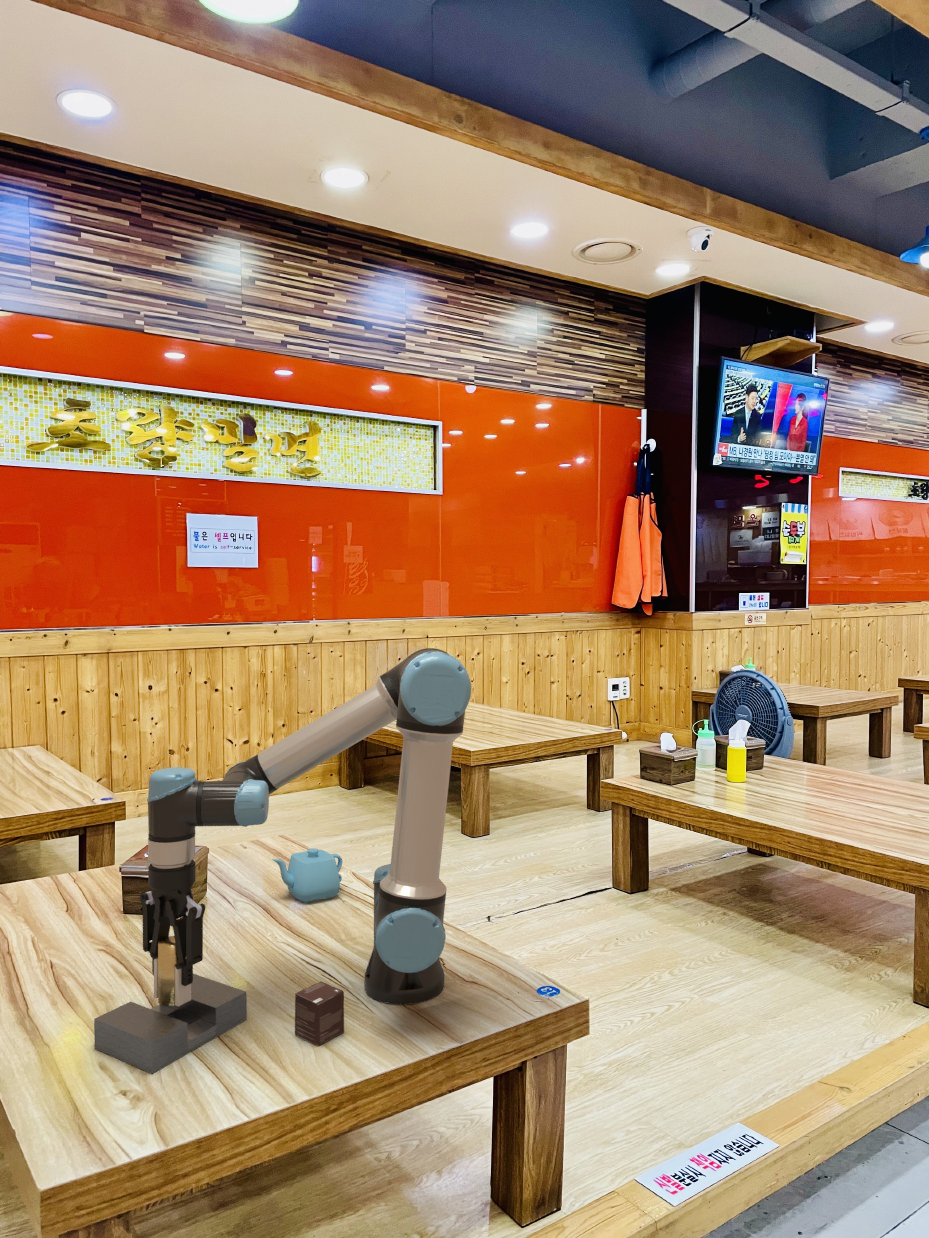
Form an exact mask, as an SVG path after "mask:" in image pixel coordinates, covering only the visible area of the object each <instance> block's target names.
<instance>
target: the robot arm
mask: <svg viewBox="0 0 929 1238" xmlns="http://www.w3.org/2000/svg"><path fill="white" fill-rule="evenodd" d="M471 695H472V683H471V679H470V676H469V673H468V671H467V669H466V667H465V666H464V665H463V663H462V662H461V661H460V660H459V659H457V658H456V657H455V656H453V655H451V654H450V653H448V652H446V651H445V650H443V649H439V648H432V647H431V648H430V647H429V648H428V647H427V648H426V647H425V648H421V649H419V650H416V651H414V652H412V653H411V654H410V655H408V656H407V657H405V659H403V660H402V661H400V662H399V663H398V664H396V665H395V666H393V667H392V668H391V669H389V670H387V671H386V672H384V673H383V674H381V675H379V676H378V677H377V680H376V684H375V685H373V686H371V687H369V688H368V689H366V690H364V691H363V692H361V693H359V694H358V695H356V696H354V697H353V698H351V699H349V700H346V701H345V702H344V703H342V704H341V705H339V706H337V707H335V708H334V709H331V710H330V711H329V712H327V713H325V714H324V715H322V716H320V717H318V718H317V719H315V720H313V721H311V722H310V723H308V724H306V725H304V726H303V727H301V728H300V729H298V730H296V731H294V732H292V733H291V734H289V735H287V736H286V737H284V738H282V739H281V740H279V741H277V742H276V743H274V744H272V745H270V746H269V747H267V748H265V749H263V750H262V751H260V752H258V753H257V754H256V755H254V756H251V757H250V758H248V759H247V760H245V761H240V762H238V763H236V764H234V765H233V766H231V767H230V768H229V769H228V770H227V771H226V773H225V774H224V776H223V779H221V780H208V781H207V780H197V779H198V778H197V777H196V772H195V770H194V769H192V768H190V767H188V768H187V767H167V768H161V769H160V768H159V769H157V770H155V771H154V772H152V773H151V775H150V776H149V779H148V794H147V801H146V802H147V815H148V817H147V818H148V821H147V823H148V834H147V835H148V838H147V862H148V863H149V864H148V872H147V874H148V876H147V879H148V882H147V883H148V887H149V888H150V889H151V890H149V891H146V892H143V893H141V894H140V896H139V899H140V903H141V908H142V909H141V910H142V949H143V952H145V953H146V952H147V953H149V955H150V957H151V963H152V964H151V965H152V966H151V968H152V975H153V998H154V999H158V942H159V940H161V939H163V938H165V937H169V936H170V931H171V927H172V930H173V934H174V935H173V936H174V937H175V943H176V949H177V956H178V962H179V964H178V965H176V966H175V1005H176V1006H180V1005H182V1004H184V1003H186V1002H188V1001H190V1000H191V983H192V982H193V974H194V965H196V964H198V963H201V962H202V961H203V959H204V958H203V956H204V953H203V952H204V948H203V947H204V945H203V944H204V942H203V941H204V940H203V939H204V937H203V936H204V935H203V934H204V932H203V931H204V927H203V926H204V916H205V912H206V904H204V903H200V904H198V903H197V902H196V901H195V900H194V895H193V893H192V887H193V885H194V884H195V883H196V877H197V875H196V871H197V870H196V861H195V860H194V859H195V858H196V827H243V828H244V827H245V828H246V827H250V826H257V825H258V826H259V825H263V824H265V823H266V822H267V820H268V815H269V806H270V805H269V803H270V801H269V800H270V795H271V794H273V793H274V792H276V791H277V790H279V789H280V788H282V787H284V786H285V785H287V784H289V783H290V782H293V781H294V780H296V779H298V778H299V777H301V776H303V775H304V774H306V773H307V772H309V771H311V770H313V769H314V768H316V767H318V766H320V765H321V764H323V763H325V762H327V761H329V760H330V759H332V758H334V757H335V756H337V755H338V754H340V753H342V752H343V751H346V750H347V749H349V748H351V747H352V746H354V745H355V744H357V743H359V742H361V741H362V740H364V739H366V738H367V737H369V736H371V735H373V734H374V733H377V731H379V730H382V729H383V728H385V727H386V726H388V725H390V724H392V723H393V722H396V723H395V727H396V729H397V730H398V732H399V733H400V735H402V738H403V741H402V749H401V759H400V770H399V778H398V779H399V781H398V789H397V790H398V791H397V800H396V809H395V816H394V817H395V819H394V825H393V827H394V829H393V837H392V839H393V840H392V847H391V857H390V858H391V859H390V863H388V864H383V865H381V866H378V867H377V868H376V869H375V870H374V874H373V880H372V885H373V949H372V952H371V954H370V956H369V957H370V958H369V961H368V964H367V967H366V970H365V973H364V978H363V979H364V982H363V983H364V987H363V988H364V991H365V993H366V994H367V995H368V997H370V998H372V999H374V1000H375V1001H379V1002H381V1003H386V1004H391V1005H414V1004H420V1003H424V1002H427V1001H430V1000H432V999H434V998H436V997H437V996H439V995H440V994H441V993H442V992H443V991H444V989H445V970H444V969H443V967H442V963H441V959H440V957H441V955H442V953H443V951H444V947H445V943H446V935H447V934H446V929H445V926H444V918H445V909H446V899H447V897H446V896H447V885H445V884H444V883H443V881H442V880H441V879H440V870H441V863H442V852H443V851H442V850H443V842H444V831H445V823H446V822H445V821H446V814H447V805H448V804H447V803H448V794H449V785H450V775H451V774H450V773H451V765H452V764H451V763H452V755H453V746H454V742H455V740H457V739H458V738H460V737H461V736H462V735H463V733H464V725H465V716H466V715H465V714H466V709H467V708H468V706H469V704H470V700H471Z"/></svg>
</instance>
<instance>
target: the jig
mask: <svg viewBox="0 0 929 1238" xmlns="http://www.w3.org/2000/svg"><path fill="white" fill-rule="evenodd" d="M247 996H248V995H247V991H246V990H243V989H240V988H237V987H234V986H231V985H228V984H224V983H223V982H220V981H216V980H214V979H210V978H207V977H204V976H201V975H199V974H196V973H193V982H192V983H191V1000H190V1001H188V1002H186V1003H184V1004H182V1005H180V1006H176V1005H175V1006H163V1005H160V1004H158V1005H156V1006H154V1007H151V1008H149V1007H146V1006H145V1005H141V1004H139V1003H137V1002H133V1001H129V1002H127V1003H125V1004H122V1005H120V1006H118V1007H116V1008H114V1009H111V1010H109V1011H108V1012H105V1013H103V1014H101V1015H99V1016H97V1017H95V1018H94V1019H93V1020H94V1021H93V1022H94V1023H93V1026H94V1028H93V1029H94V1035H93V1037H94V1038H93V1039H94V1050H96V1051H98V1052H101V1053H103V1054H105V1055H107V1056H110V1057H112V1058H115V1059H117V1060H118V1061H121V1062H124V1063H126V1064H128V1065H130V1066H133V1067H135V1068H137V1069H139V1070H142V1071H143V1072H146V1073H148V1074H151V1075H152V1074H154V1073H156V1072H158V1071H160V1070H162V1069H163V1068H165V1067H167V1066H169V1065H170V1064H172V1063H174V1062H176V1061H177V1060H179V1059H181V1058H183V1057H184V1056H186V1055H188V1054H189V1053H192V1052H193V1051H195V1050H197V1049H199V1048H200V1047H202V1046H203V1045H205V1044H207V1043H209V1042H210V1041H212V1040H214V1039H215V1038H218V1037H219V1036H221V1035H223V1034H225V1033H226V1032H228V1031H229V1030H232V1029H233V1028H235V1027H236V1026H238V1025H240V1024H242V1023H244V1022H245V1021H247V1018H248V1017H247V1016H248V1015H247V1011H248V1010H247V1009H248V1007H247V998H248V997H247Z"/></svg>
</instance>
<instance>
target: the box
mask: <svg viewBox="0 0 929 1238" xmlns="http://www.w3.org/2000/svg"><path fill="white" fill-rule="evenodd" d="M294 995H295V996H294V1010H295V1011H294V1034H295V1035H294V1036H295V1037H297V1038H300V1039H303V1040H304V1041H307V1042H309V1043H311V1044H313V1046H316V1047H320V1046H321V1045H322V1044H325V1043H326V1042H329V1041H330V1040H332V1039H333V1038H335V1037H338V1036H339V1035H341V1034H343V1033H344V1032H345V1003H344V1002H345V991H344V990H343V989H340V988H338V987H336V986H333V985H331V984H328V983H326V982H324V981H319V982H317V983H315V984H312V985H310V986H308V987H305V988H304V989H301V990H300V991H297V992H295V993H294Z"/></svg>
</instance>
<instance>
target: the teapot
mask: <svg viewBox="0 0 929 1238" xmlns="http://www.w3.org/2000/svg"><path fill="white" fill-rule="evenodd" d="M306 850H307V851H301V852H295V853H291V855H290V858H289V863H288V866H286V865H287V864H286V863H285V861H284V860H283V859H280V858H272V859H271V861H273V862H275V863H276V864H277V865H278V867H279V870H280V871H279V872H280V876H281V880H282V881H283V883H284V884H285V885H286V886H287V888H288V891H289V893H290V895H291V896H292V897H294V898H295V899H297V900H299V901H301V902H302V903H305V904H306V903H310V902H313V901H318V900H319V901H320V900H324V899H326V900H328V899H331V898H333V897H336V896H338V894H339V893H340V889H341V888H340V887H341V884H340V883H341V882H342V879H343V878H342V875H341V874H340V871H341V868H342V865H343V858H342V857H341V855H339V854H337V853H330V852H328V851H326V850H323V849H318V848H309V849H306ZM336 859H337V861H336Z"/></svg>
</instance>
